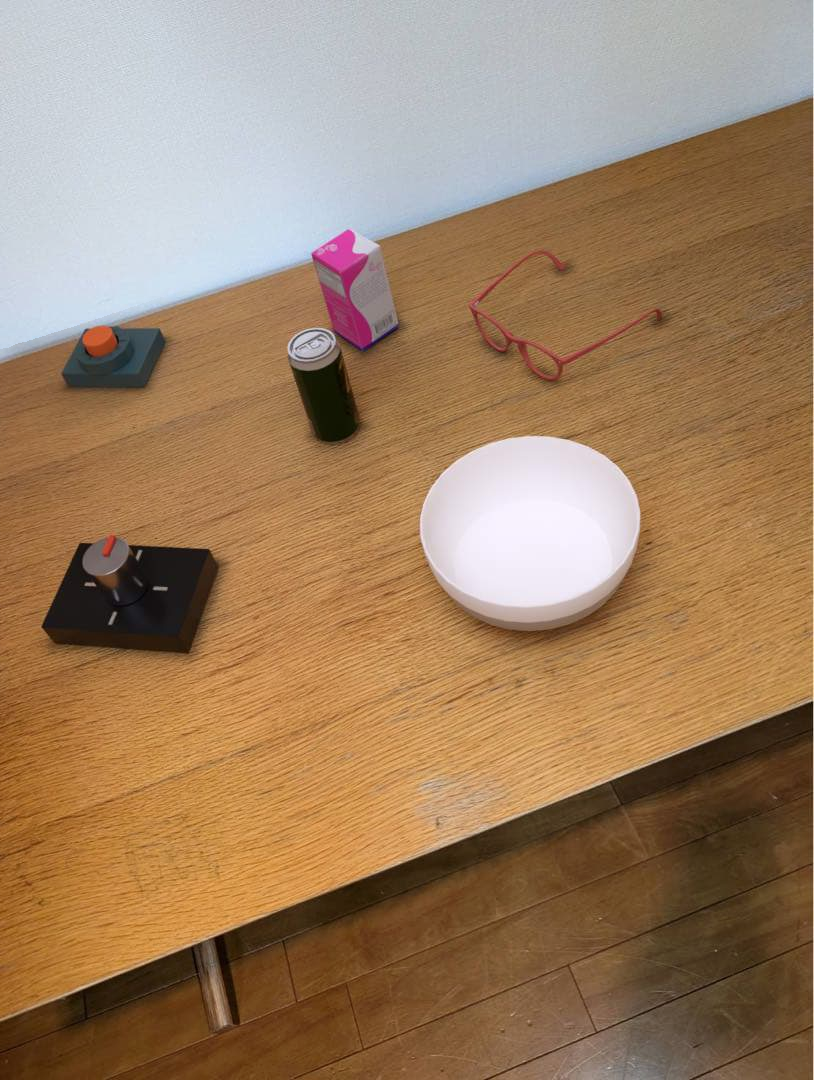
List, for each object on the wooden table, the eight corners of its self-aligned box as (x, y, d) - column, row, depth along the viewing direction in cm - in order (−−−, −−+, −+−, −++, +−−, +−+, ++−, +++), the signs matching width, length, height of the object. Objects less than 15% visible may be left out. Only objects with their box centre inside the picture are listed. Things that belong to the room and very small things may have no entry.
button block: (67, 388, 119) (53, 363, 116) (92, 341, 123) (79, 316, 120) (143, 389, 116) (131, 363, 113) (165, 341, 121) (154, 316, 118)
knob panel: (54, 643, 95) (39, 625, 93) (91, 560, 101) (78, 541, 99) (188, 653, 92) (177, 635, 90) (218, 566, 98) (209, 547, 96)
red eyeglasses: (458, 333, 114) (453, 299, 110) (556, 263, 119) (554, 228, 115) (570, 403, 104) (569, 367, 100) (671, 323, 109) (673, 287, 105)
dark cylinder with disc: (139, 607, 93) (118, 574, 88) (97, 605, 94) (73, 572, 89) (154, 569, 95) (134, 535, 91) (112, 567, 96) (90, 533, 92)
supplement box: (369, 306, 119) (350, 225, 110) (400, 327, 116) (383, 245, 107) (331, 331, 117) (309, 251, 108) (362, 353, 114) (341, 272, 105)
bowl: (483, 476, 100) (475, 415, 93) (666, 527, 92) (671, 465, 86) (397, 622, 91) (380, 567, 84) (593, 693, 83) (592, 638, 76)
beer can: (324, 454, 105) (296, 370, 96) (305, 424, 109) (277, 340, 99) (369, 433, 106) (346, 348, 97) (349, 404, 109) (325, 319, 100)
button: (83, 357, 116) (77, 346, 115) (94, 336, 118) (88, 325, 117) (111, 357, 115) (105, 346, 114) (122, 336, 117) (116, 325, 116)
